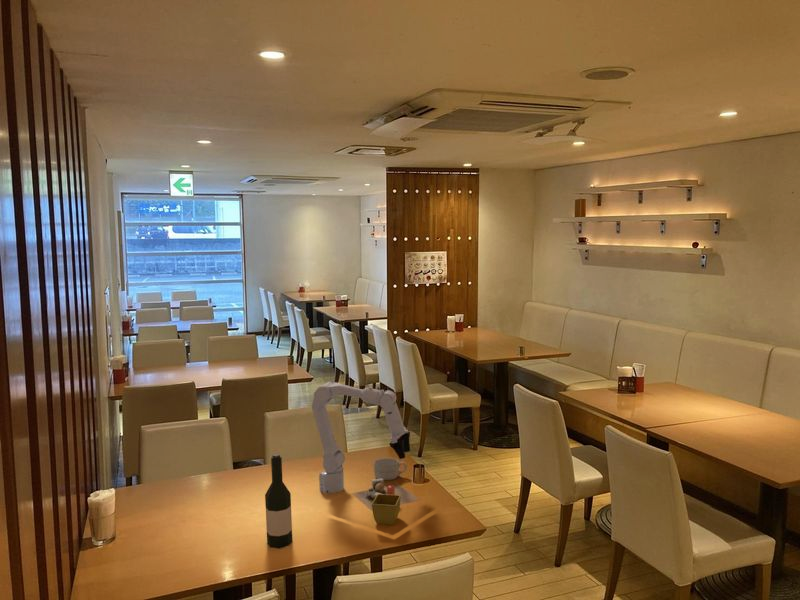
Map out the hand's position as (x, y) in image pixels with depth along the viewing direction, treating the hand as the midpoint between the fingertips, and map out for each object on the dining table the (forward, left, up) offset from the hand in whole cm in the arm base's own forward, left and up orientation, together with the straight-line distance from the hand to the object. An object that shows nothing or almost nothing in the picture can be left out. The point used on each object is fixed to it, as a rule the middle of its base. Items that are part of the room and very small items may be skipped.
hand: (405, 454), depth 236 cm
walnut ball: (-8, +6, -16) cm, 19 cm away
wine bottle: (-54, -12, -17) cm, 58 cm away
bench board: (-8, +2, -17) cm, 19 cm away
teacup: (+3, +19, -17) cm, 26 cm away
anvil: (-8, +10, -16) cm, 20 cm away
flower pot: (-17, -18, -17) cm, 30 cm away
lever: (-11, 0, -15) cm, 19 cm away
